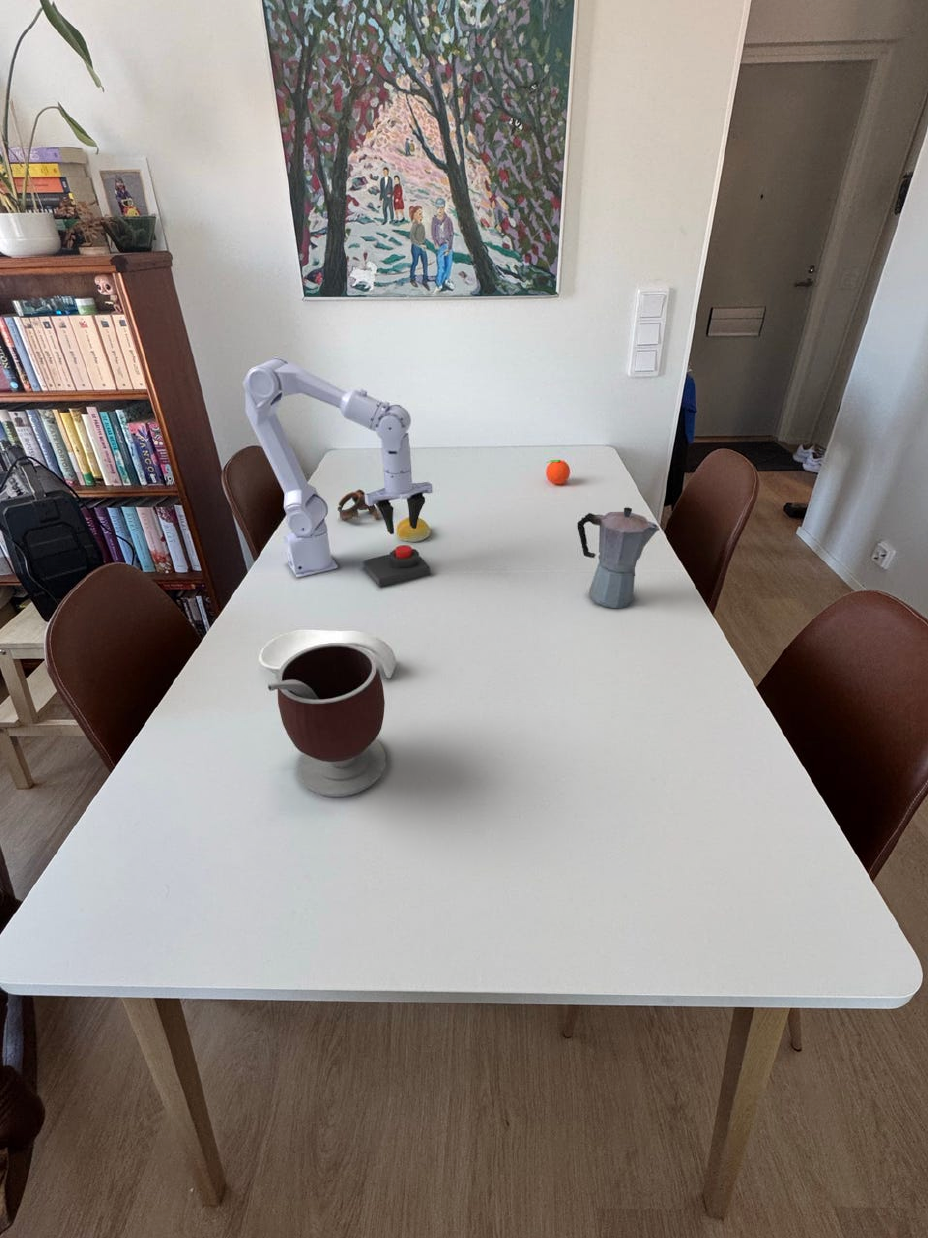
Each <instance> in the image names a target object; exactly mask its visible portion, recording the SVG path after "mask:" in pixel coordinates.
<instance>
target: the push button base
mask: <svg viewBox="0 0 928 1238" xmlns="http://www.w3.org/2000/svg"><path fill="white" fill-rule="evenodd" d="M362 564H363V570H364V571H365V572H366V573H367V575H368V576H369V578H371V580H372V581H373V582H374V583H375V584H376V586H377V587H378V588H379V589H381V588H386V587H390V586H393V585H397V584H401V583H406V582H408V581H409V582H410V581H413V580H416V579H420V578H424V577H428V576H431V565H429V564H428V563H427V562H426V561H425V560H424V559H423V558H422V557H421V556H420V551H418V550H417V549H414V548H412V556H411V557H410V558H406V559H400V558H397V557H396V551H395V549H393V550H391V551H390V552H389V554H385V555H381V556H377V557H372V558H368V559H364V560H362Z"/></svg>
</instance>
